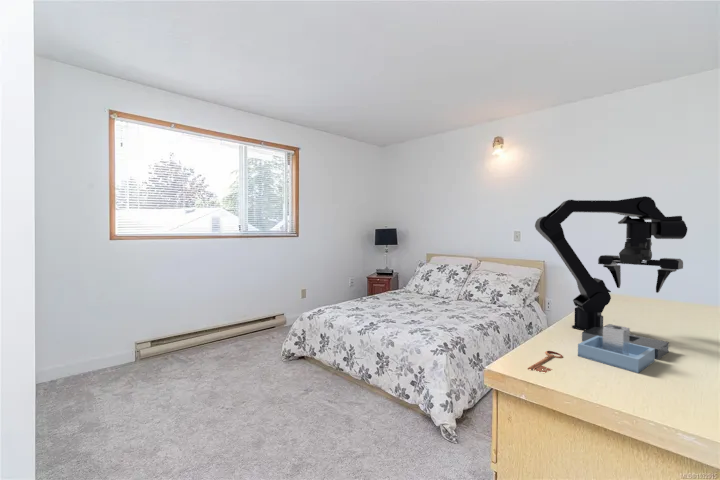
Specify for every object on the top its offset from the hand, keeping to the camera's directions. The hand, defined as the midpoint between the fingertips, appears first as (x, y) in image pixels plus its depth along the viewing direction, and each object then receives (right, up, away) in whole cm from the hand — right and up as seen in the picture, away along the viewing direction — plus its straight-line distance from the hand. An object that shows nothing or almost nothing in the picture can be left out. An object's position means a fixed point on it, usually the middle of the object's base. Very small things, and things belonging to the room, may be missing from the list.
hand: (637, 290), depth 97 cm
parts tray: (-23, -13, -20) cm, 33 cm away
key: (-40, -14, -22) cm, 48 cm away
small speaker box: (-22, -13, -20) cm, 33 cm away
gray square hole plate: (-14, -13, -11) cm, 22 cm away
